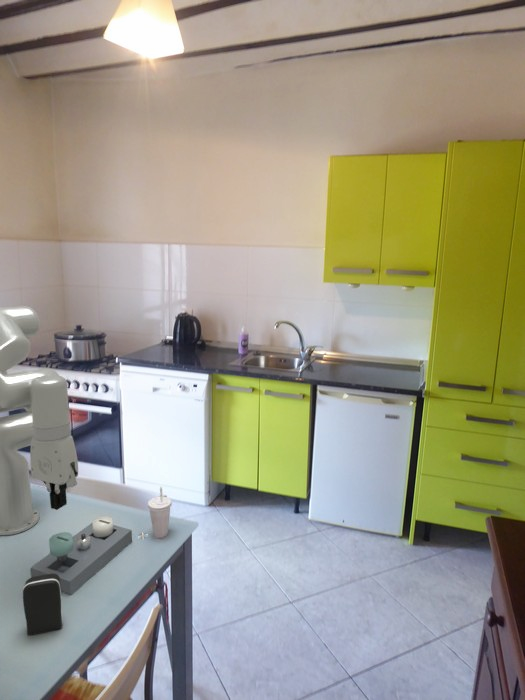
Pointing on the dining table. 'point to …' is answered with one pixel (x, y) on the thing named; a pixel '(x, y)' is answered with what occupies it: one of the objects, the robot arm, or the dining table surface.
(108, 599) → the dining table surface
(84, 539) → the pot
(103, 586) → the dining table surface
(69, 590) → the mount
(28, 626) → the black rounded upright block
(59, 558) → the knob
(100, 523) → the knob
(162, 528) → the smoothie
